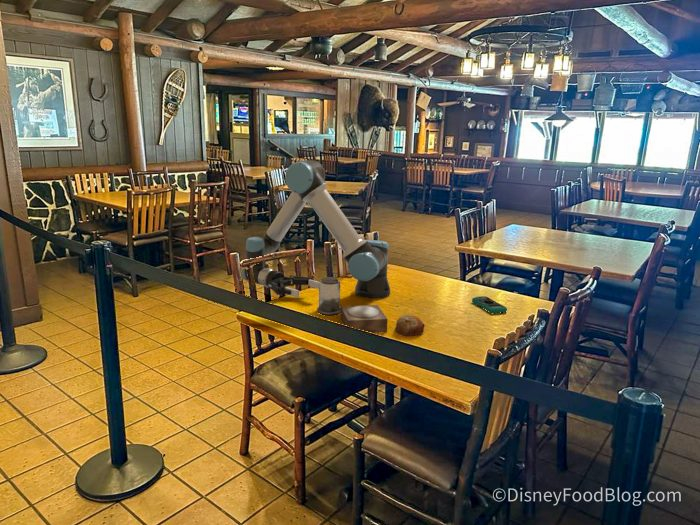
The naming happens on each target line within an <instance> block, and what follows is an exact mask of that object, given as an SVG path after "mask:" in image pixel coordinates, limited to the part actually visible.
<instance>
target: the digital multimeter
mask: <svg viewBox="0 0 700 525" xmlns="http://www.w3.org/2000/svg"><path fill="white" fill-rule="evenodd" d="M472 302H473V303H475V304H477V305H479V306H481V307H482V308H484V309H486V310H487V311H489V312H490V313H500V312H506V311H507V312H508V308H507V307H506V306H505V305H503V304H501V303H499V302H497V301H496V300H494V299H492V298H490V297H488V296H484V295H481V296H475V297H472V298H471V303H472ZM473 303H472V304H473ZM475 304H474V305H475ZM477 305H476V306H477ZM479 306H478V307H479ZM481 307H480V308H481ZM482 308H481V309H482ZM484 309H483V310H484ZM486 310H485V311H486ZM487 311H486V312H487ZM489 312H488V313H489ZM507 312H506V313H507ZM490 313H489V314H490Z"/></svg>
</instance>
